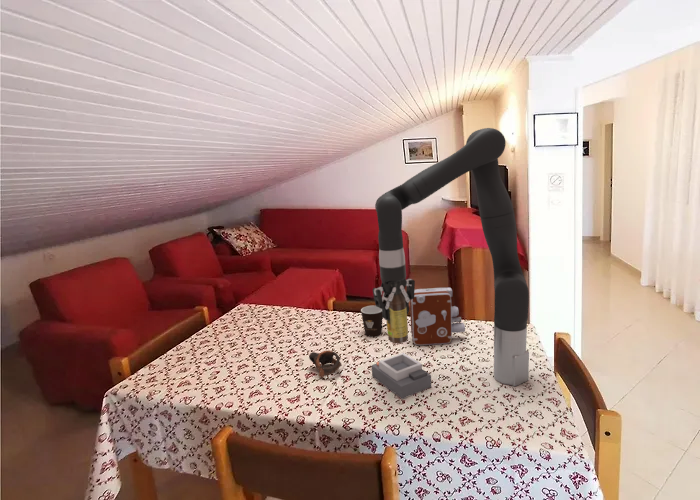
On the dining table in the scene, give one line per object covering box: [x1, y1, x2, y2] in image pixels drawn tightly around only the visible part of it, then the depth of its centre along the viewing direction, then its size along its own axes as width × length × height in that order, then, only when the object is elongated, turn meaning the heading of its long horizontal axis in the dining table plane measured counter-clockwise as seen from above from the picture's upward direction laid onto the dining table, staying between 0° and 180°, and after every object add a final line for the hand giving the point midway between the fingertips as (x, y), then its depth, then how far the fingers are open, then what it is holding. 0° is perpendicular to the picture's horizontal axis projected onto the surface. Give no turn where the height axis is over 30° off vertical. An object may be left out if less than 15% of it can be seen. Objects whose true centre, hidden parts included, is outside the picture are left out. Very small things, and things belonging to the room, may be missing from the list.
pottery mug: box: [308, 350, 343, 379], centre depth 150 cm, size 12×10×8 cm
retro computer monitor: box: [371, 352, 432, 400], centre depth 140 cm, size 16×11×6 cm
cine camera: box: [409, 287, 466, 346], centre depth 164 cm, size 9×19×20 cm, turn 89°
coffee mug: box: [360, 305, 387, 338], centre depth 174 cm, size 12×9×10 cm
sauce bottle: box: [386, 281, 409, 344], centre depth 135 cm, size 6×6×20 cm
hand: (396, 316), depth 135 cm, fingers closed on sauce bottle, 6 cm apart
